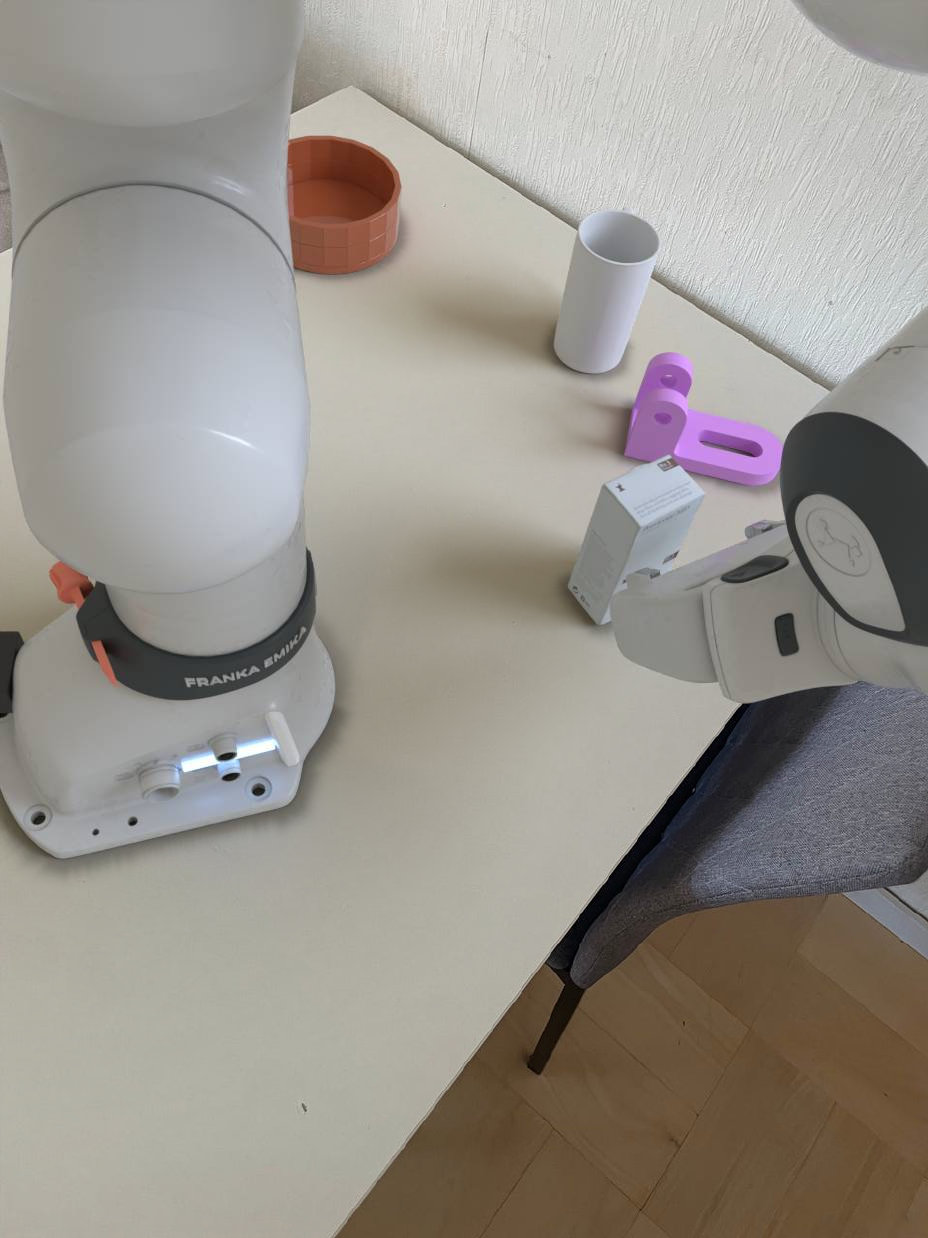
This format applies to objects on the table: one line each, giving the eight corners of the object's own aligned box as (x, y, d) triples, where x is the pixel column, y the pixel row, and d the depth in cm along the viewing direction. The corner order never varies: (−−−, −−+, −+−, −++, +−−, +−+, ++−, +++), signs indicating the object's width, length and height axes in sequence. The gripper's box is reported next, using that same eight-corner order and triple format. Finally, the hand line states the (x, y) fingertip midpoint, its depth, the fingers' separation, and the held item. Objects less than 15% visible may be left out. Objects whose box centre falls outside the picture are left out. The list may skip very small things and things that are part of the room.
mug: (616, 385, 89) (652, 274, 79) (542, 364, 89) (569, 250, 79) (637, 312, 94) (674, 198, 84) (568, 292, 95) (596, 177, 85)
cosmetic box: (598, 629, 76) (640, 531, 65) (563, 585, 77) (598, 483, 67) (662, 595, 78) (711, 495, 68) (626, 553, 80) (669, 449, 69)
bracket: (624, 455, 85) (646, 396, 79) (632, 408, 88) (653, 347, 82) (776, 492, 85) (810, 435, 79) (779, 443, 88) (812, 385, 82)
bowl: (289, 288, 91) (287, 241, 87) (234, 199, 97) (230, 151, 92) (421, 254, 95) (425, 208, 91) (361, 170, 101) (363, 123, 97)
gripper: (992, 474, 56) (812, 463, 68) (692, 601, 49) (553, 564, 62) (1003, 581, 58) (826, 552, 70) (715, 718, 51) (576, 659, 63)
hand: (696, 558), depth 66 cm, fingers open, 8 cm apart
